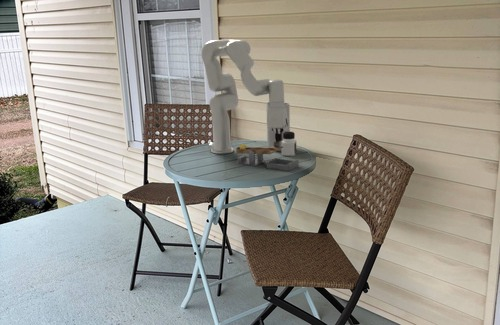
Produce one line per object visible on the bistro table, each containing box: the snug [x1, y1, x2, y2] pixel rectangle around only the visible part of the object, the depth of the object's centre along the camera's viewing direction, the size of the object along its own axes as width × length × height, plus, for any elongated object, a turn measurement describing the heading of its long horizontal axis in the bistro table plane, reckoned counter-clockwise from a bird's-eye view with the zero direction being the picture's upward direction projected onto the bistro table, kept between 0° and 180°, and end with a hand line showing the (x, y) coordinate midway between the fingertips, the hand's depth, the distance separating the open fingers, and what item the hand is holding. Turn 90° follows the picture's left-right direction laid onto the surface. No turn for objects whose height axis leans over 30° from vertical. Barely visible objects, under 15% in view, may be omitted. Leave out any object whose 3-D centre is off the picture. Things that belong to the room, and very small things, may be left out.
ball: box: [238, 143, 247, 150], centre depth 259 cm, size 4×4×4 cm
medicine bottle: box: [281, 130, 297, 157], centre depth 271 cm, size 7×7×12 cm
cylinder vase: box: [266, 102, 291, 152], centre depth 282 cm, size 12×12×25 cm
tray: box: [266, 157, 300, 172], centre depth 248 cm, size 13×10×4 cm
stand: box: [235, 151, 266, 167], centre depth 257 cm, size 12×9×7 cm
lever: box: [235, 141, 283, 155], centre depth 258 cm, size 20×16×4 cm
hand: (278, 140), depth 258 cm, fingers closed
